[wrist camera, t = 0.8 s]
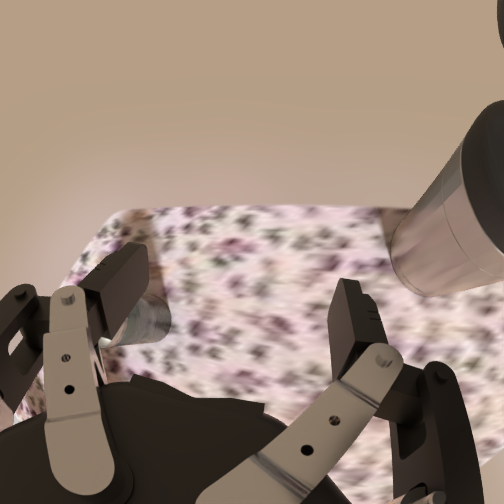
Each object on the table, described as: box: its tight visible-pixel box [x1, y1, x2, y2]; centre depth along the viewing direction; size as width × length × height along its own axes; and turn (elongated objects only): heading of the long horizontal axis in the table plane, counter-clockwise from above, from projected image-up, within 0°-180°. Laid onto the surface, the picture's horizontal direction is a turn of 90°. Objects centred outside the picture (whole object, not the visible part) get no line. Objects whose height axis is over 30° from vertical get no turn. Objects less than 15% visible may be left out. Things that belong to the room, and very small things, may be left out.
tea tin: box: [98, 294, 171, 348], centre depth 27 cm, size 6×6×10 cm
